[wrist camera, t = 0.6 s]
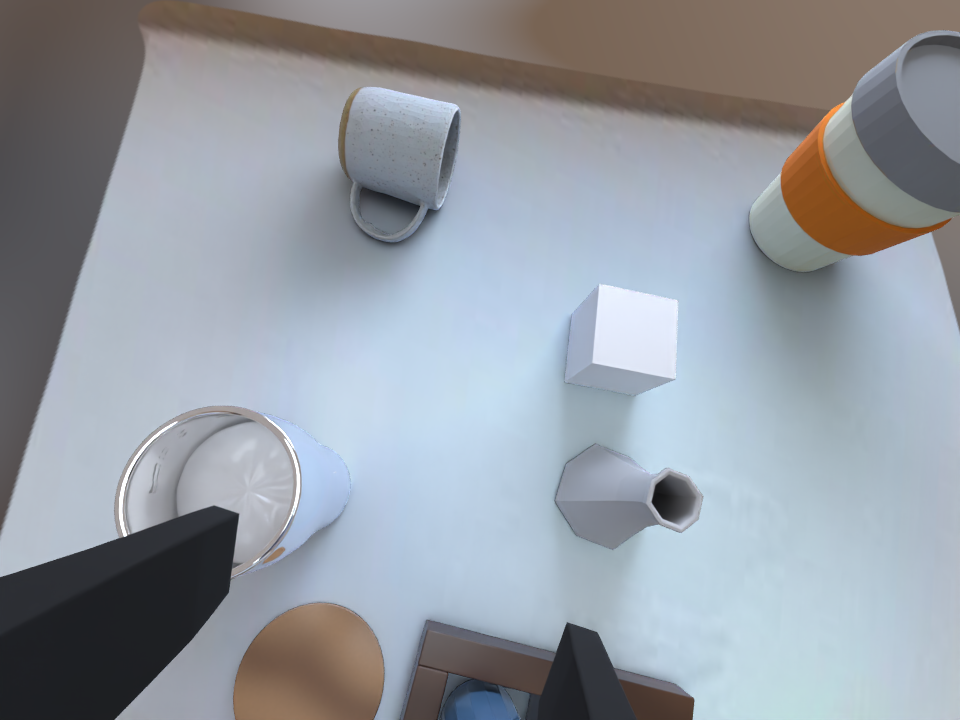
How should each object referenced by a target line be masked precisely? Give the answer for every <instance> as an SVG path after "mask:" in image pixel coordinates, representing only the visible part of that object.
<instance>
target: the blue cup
mask: <svg viewBox="0 0 960 720" xmlns="http://www.w3.org/2000/svg"><path fill="white" fill-rule="evenodd" d="M440 720H521V719H520V716H519V714H518V712H517V709H516V707H515V705H514V704H513V701H512V699H511V697H510V696H509V694H508V693H507V691H506V690H505V689H504V688H503V687H502V686H500V685H496V684H492V683H488V682H484V681H480V680H476V679H473V680H470V681H467V682H465V683H463V684H462V685H460V686H459V687H457V688H456V689H455V690H454V691H453V692H452V693H451V695H450V696H449V698H448V699H447V701H446V703H445V705H444V707H443V710H442V714H441V719H440Z"/></svg>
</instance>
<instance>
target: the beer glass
mask: <svg viewBox="0 0 960 720" xmlns="http://www.w3.org/2000/svg"><path fill="white" fill-rule="evenodd" d="M350 489H351V479H350V473H349V470H348V468H347V465H346V464H345V462H344V460H343V459H342V458H341V457H340V455H339V454H337V453H336V452H335V451H334V450H332V449H331V448H329V447H326V446H324V445H320V444H319V443H318V442H317V441H316V440H315V439H314V438H313V437H312V436H311V435H310V434H309V433H308V432H306V431H305V430H303V429H302V428H300V427H298V426H297V425H295V424H293V423H291V422H289V421H287V420H284V419H282V418H279V417H276V416H273V415H270V414H265V413H261V412H256V411H252V410H249V409H246V408H242V407H236V406H209V407H203V408H199V409H195V410H192V411H189V412H186V413H183V414H181V415H179V416H177V417H175V418H173V419H171V420H169V421H168V422H166V423H164V424H163V425H161V426H160V427H159V428H157V429H156V430H155V431H154V432H152V433H151V434H150V435H149V436H148V437H147V438H146V439H145V440H144V441H143V442H142V443H141V444H140V445H139V447H138V448H137V449H136V450H135V452H134V453H133V454H132V456H131V457H130V459H129V461H128V462H127V464H126V466H125V468H124V470H123V472H122V475H121V477H120V480H119V483H118V487H117V491H116V496H115V506H114V515H115V524H116V529H117V532H118V536H119V538H121V537H124V536H127V535H130V534H133V533H135V532H138V531H141V530H144V529H147V528H149V527H152V526H155V525H158V524H160V523H163V522H166V521H169V520H172V519H174V518H177V517H180V516H183V515H186V514H189V513H191V512H194V511H197V510H200V509H204V508H207V507H210V506H213V505H215V506H218V507H221V508H224V509H227V510H230V511H233V512H236V513H239V521H238V529H237V536H236V543H235V551H234V558H233V565H232V573H231V579H234V578H236V577H238V576H242V575H245V574H249V573H252V572H255V571H258V570H260V569H263V568H265V567H267V566H269V565H271V564H274V563H276V562H278V561H280V560H281V559H283V558H285V557H286V556H288V555H289V554H291V553H292V552H294V551H295V550H296V549H298V548H299V547H300V546H302V545H303V544H304V543H305V542H306V541H307V540H308V539H309V538H310V537H311V536H312V535H313V534H314V532H316V531H319V530H321V529H323V528H325V527H327V526H328V525H330V524H331V523H332V522H333V521H334V520H335V519H336V518H337V517H338V516H339V515H340V514H341V512H342V511H343V509H344V508H345V506H346V504H347V501H348V499H349V495H350Z"/></svg>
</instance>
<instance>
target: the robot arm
mask: <svg viewBox="0 0 960 720" xmlns="http://www.w3.org/2000/svg"><path fill="white" fill-rule="evenodd" d="M238 521H239V513H236V512H233V511H230V510H227V509H224V508H221V507H218V506H215V505H213V506H210V507H207V508H204V509H200V510H197V511H194V512H191V513H189V514H186V515H183V516H180V517H177V518H174V519H172V520H169V521H166V522H163V523H160V524H158V525H155V526H152V527H149V528H147V529H144V530H141V531H138V532H135V533H133V534H130V535H127V536H124V537H121V538H118V539H116V540H113V541H110V542H107V543H104V544H102V545H99V546H96V547H93V548H90V549H87V550H84V551H81V552H78V553H75V554H72V555H69V556H66V557H62V558H59V559H56V560H53V561H50V562H47V563H44V564H41V565H38V566H35V567H31V568H28V569H25V570H22V571H19V572H16V573H13V574H10V575H6V576H3V577H0V720H115V719H116V718H117V717H118V715H119V714H120V713H121V712H122V711H123V710H124V709H125V708H126V707H127V706H128V705H129V704H130V703H131V702H132V701H133V700H134V699H135V698H136V697H137V696H138V695H139V694H140V693H141V692H142V691H143V690H144V689H145V688H146V687H147V686H148V685H149V684H150V683H151V682H152V681H153V680H154V679H155V678H156V677H157V675H158V674H159V673H160V672H161V671H162V670H163V669H164V668H165V667H166V666H167V665H168V664H169V663H170V662H171V661H172V660H173V659H174V658H175V657H176V656H177V655H178V654H179V653H180V652H181V651H182V649H183V648H184V647H185V646H186V645H187V644H188V643H189V642H190V641H191V640H192V639H193V638H194V636H195V635H196V634H197V633H198V631H199V630H200V629H201V628H202V626H203V625H204V624H205V623H206V621H207V620H208V619H209V618H210V616H211V615H212V614H213V613H214V611H215V610H216V609H217V607H218V606H219V605H220V603H221V602H222V601H223V599H224V598H225V597H226V596H227V594H228V593H229V588H230V580H231V573H232V565H233V558H234V551H235V543H236V536H237V529H238ZM537 720H637V718H636V716H635V714H634V711H633V709H632V707H631V705H630V703H629V701H628V699H627V696H626V694H625V692H624V690H623V688H622V686H621V683H620V681H619V679H618V677H617V675H616V672H615V670H614V668H613V666H612V663H611V661H610V659H609V657H608V654H607V652H606V650H605V648H604V645H603V643H602V641H601V639H600V637H599V635H598V633H597V632H595V631H592V630H589V629H586V628H583V627H580V626H577V625H574V624H571V623H568V622H567V624H566V627H565V629H564V632H563V635H562V638H561V641H560V643H559V646H558V649H557V652H556V655H555V658H554V660H553V663H552V666H551V669H550V672H549V674H548V677H547V680H546V683H545V686H544V689H543V691H542V694H541V697H540V700H539V707H538V718H537Z"/></svg>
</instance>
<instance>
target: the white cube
mask: <svg viewBox="0 0 960 720" xmlns="http://www.w3.org/2000/svg"><path fill="white" fill-rule="evenodd" d="M677 326H678V300H674V299H670V298H665V297H660V296H656V295H651V294H646V293H642V292H637V291H632V290H627V289H623V288H618V287H613V286H609V285H604V284H599V285H598V286H597V287H596V288H595V289H594V290H593V291H592V292H591V293H590V295H589V296H588V297H587V298H586V299H585V300H584V301H583V302H582V303H581V304H580V306H579V307H578V308H577V309H576V310H575V311H574V312H573V313H572V316H571V325H570V335H569V344H568V353H567V363H566V372H565V381H564V382H566V383H571V384H576V385H581V386H586V387H592V388H597V389H602V390H607V391H612V392H618V393H623V394H628V395H633V396H636V395H638V394H641V393H643V392H646V391H648V390H651V389H653V388H656V387H658V386H661V385H663V384H666V383H668V382H670V381H673V380H675V379H676V356H677Z"/></svg>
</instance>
